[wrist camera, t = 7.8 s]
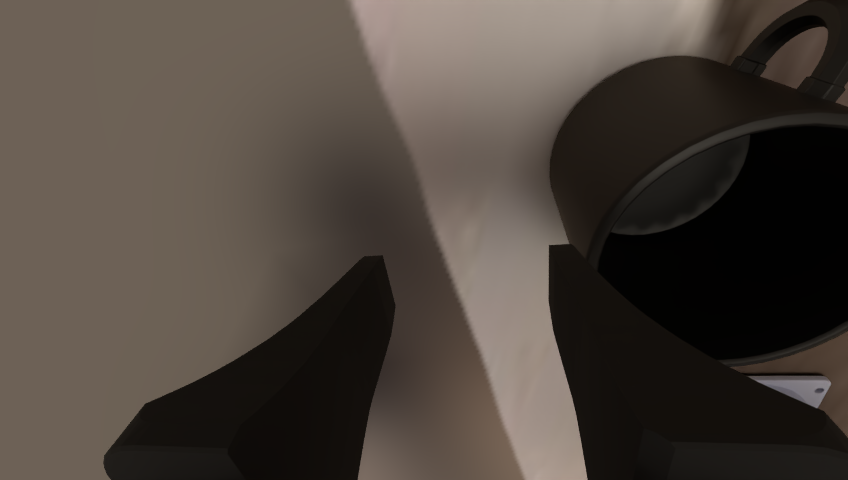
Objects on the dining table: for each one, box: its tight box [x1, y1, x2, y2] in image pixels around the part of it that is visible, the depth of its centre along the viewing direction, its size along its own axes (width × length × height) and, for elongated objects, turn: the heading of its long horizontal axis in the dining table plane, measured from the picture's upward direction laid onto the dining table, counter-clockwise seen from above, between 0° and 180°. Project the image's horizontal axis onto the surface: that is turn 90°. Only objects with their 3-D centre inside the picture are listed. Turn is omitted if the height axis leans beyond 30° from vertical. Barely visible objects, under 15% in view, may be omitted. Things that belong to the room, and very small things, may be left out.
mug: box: [550, 0, 848, 367], centre depth 15 cm, size 9×12×9 cm
